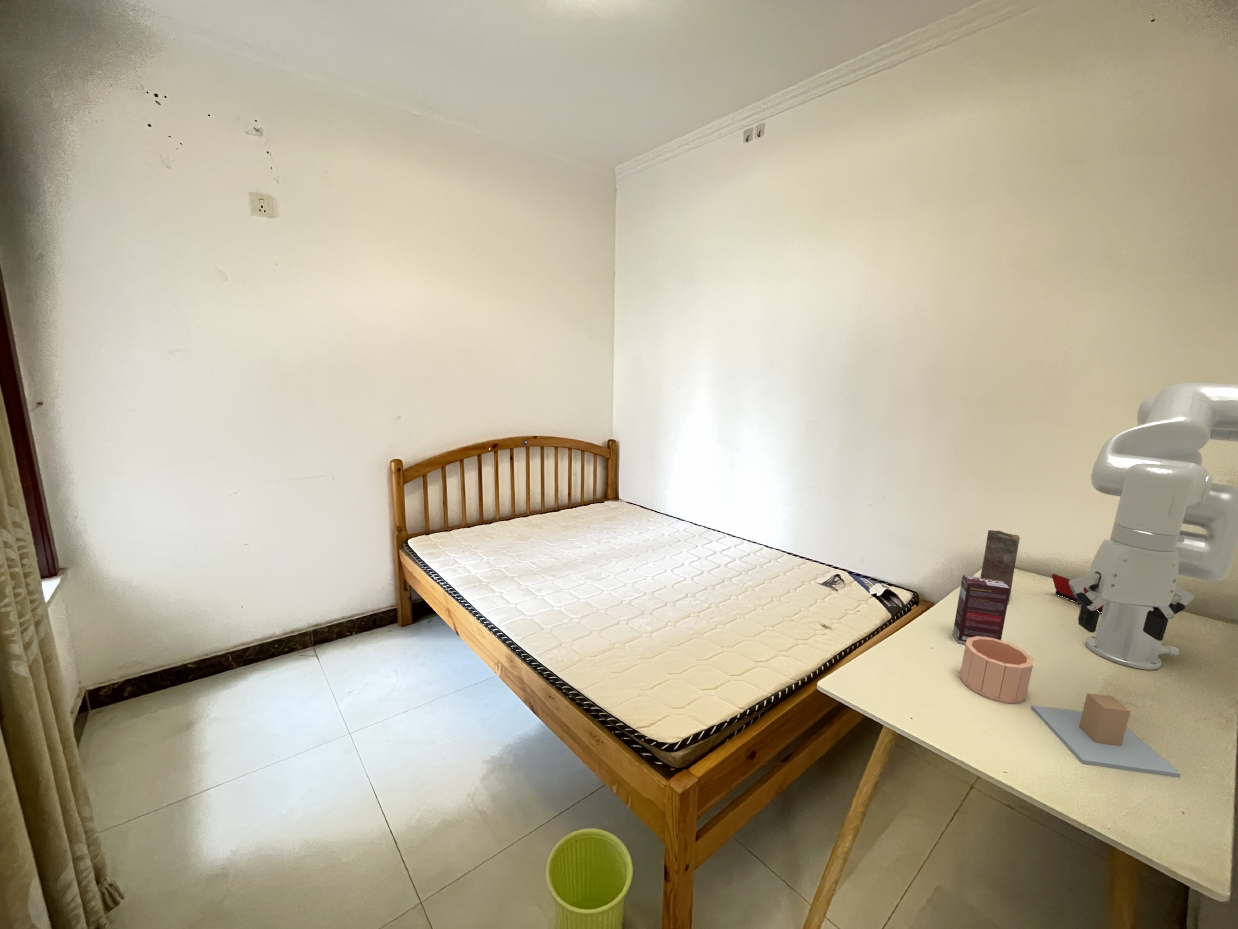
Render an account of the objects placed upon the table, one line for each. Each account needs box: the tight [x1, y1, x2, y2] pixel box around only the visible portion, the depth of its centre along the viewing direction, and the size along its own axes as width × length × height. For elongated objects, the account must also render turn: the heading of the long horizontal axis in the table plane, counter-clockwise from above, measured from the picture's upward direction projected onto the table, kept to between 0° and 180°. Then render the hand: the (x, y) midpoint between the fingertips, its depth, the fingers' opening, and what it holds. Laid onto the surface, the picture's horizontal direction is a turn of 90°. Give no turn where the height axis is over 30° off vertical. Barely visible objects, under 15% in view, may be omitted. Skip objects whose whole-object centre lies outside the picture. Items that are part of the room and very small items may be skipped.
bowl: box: [959, 636, 1034, 705], centre depth 103 cm, size 11×11×8 cm
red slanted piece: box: [1051, 573, 1104, 612], centre depth 141 cm, size 12×11×7 cm
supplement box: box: [952, 574, 1011, 646], centre depth 119 cm, size 9×5×16 cm, turn 71°
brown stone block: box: [980, 529, 1021, 602], centre depth 142 cm, size 8×7×20 cm
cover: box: [1030, 692, 1181, 779], centre depth 89 cm, size 14×14×8 cm
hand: (1118, 632), depth 86 cm, fingers open, 9 cm apart
